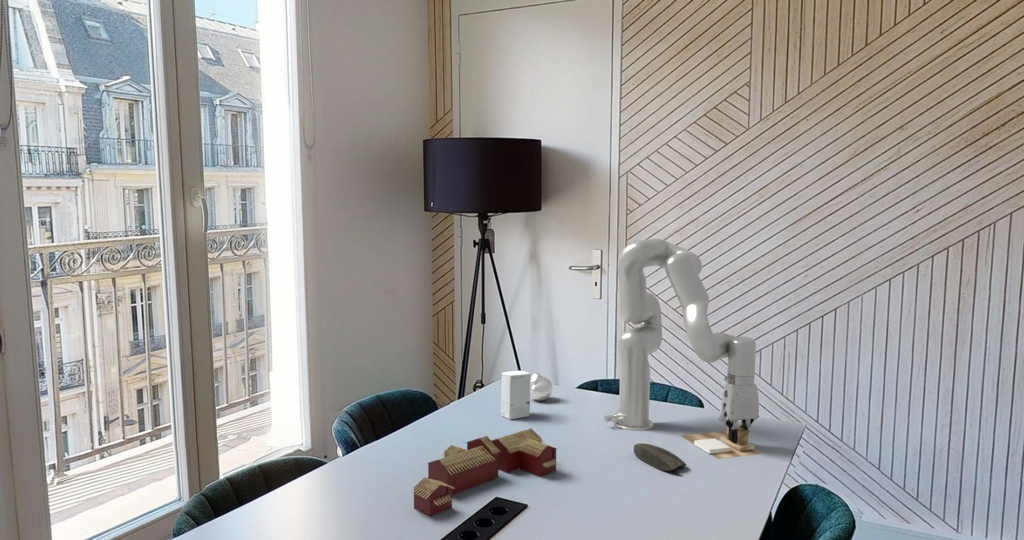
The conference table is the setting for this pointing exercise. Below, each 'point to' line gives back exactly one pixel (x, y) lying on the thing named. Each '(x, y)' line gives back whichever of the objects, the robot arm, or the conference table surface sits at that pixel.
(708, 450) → the tile
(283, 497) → the conference table surface
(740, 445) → the wooden float
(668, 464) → the decorative stone
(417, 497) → the toy houses
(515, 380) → the skincare box
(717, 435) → the cork mat
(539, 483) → the conference table surface
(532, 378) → the ghost figurine
